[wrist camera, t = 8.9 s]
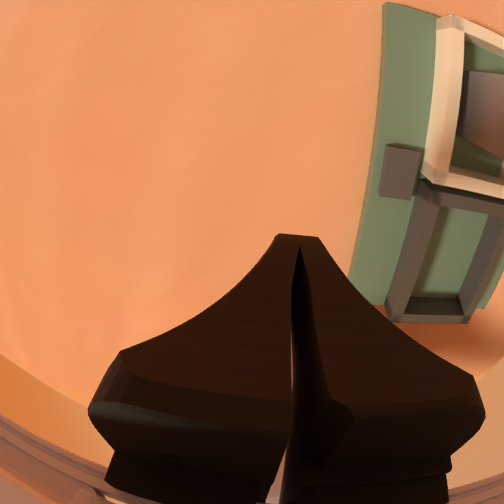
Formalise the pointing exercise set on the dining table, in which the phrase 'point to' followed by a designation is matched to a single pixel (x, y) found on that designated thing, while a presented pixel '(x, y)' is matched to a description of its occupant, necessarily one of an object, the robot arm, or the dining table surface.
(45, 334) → the dining table surface
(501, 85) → the plug
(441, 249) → the board
